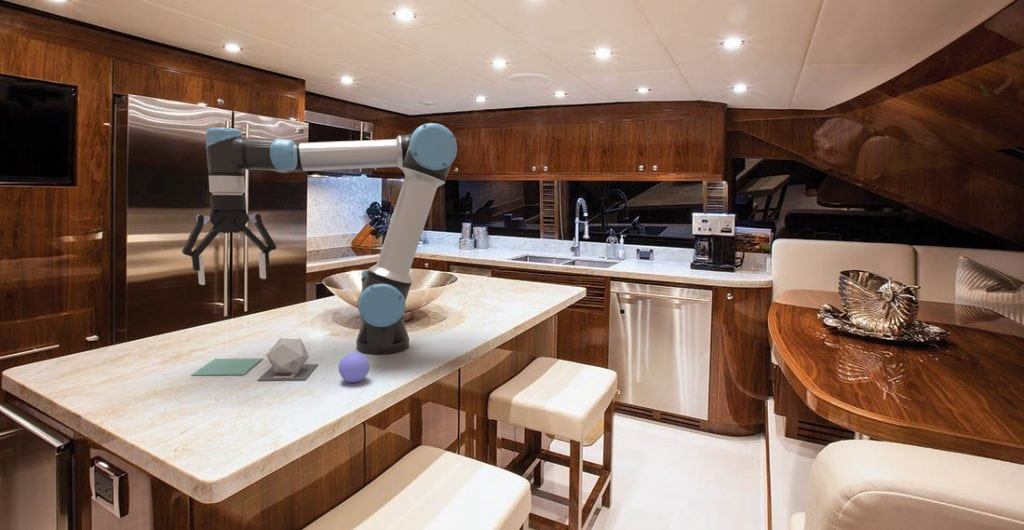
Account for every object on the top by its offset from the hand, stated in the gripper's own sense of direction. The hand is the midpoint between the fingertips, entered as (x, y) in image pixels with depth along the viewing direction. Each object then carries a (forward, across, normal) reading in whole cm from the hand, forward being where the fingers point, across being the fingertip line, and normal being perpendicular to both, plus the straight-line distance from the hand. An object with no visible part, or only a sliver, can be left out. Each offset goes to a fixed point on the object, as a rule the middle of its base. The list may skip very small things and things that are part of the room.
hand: (233, 281), depth 125 cm
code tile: (+22, -8, +11) cm, 26 cm away
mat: (+22, +2, -2) cm, 22 cm away
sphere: (+23, -18, +26) cm, 40 cm away
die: (+22, -8, +11) cm, 26 cm away
